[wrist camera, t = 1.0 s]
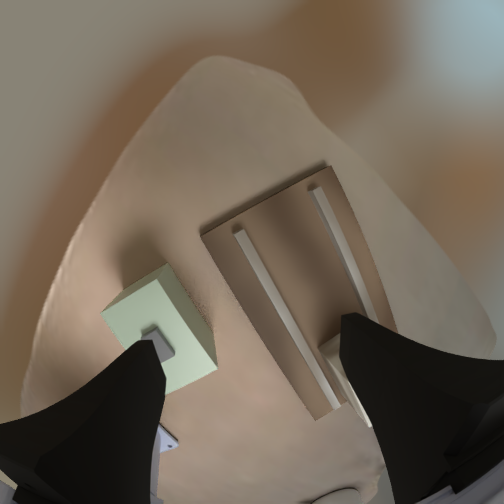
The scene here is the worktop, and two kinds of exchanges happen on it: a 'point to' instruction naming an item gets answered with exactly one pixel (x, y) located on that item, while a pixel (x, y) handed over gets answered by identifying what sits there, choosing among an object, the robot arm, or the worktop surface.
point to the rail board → (303, 283)
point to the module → (164, 326)
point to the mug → (341, 497)
